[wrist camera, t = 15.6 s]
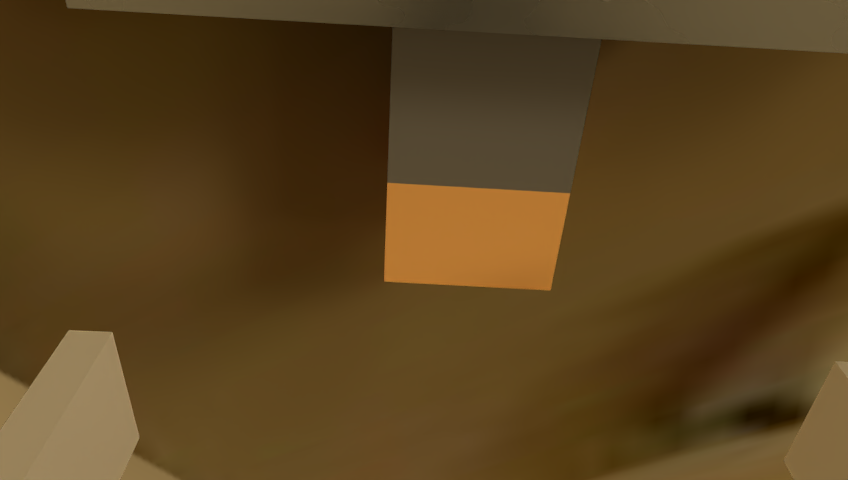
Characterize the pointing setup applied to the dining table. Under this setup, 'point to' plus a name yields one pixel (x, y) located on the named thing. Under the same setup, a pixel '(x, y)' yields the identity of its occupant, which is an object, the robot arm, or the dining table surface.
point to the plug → (482, 154)
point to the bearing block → (553, 18)
